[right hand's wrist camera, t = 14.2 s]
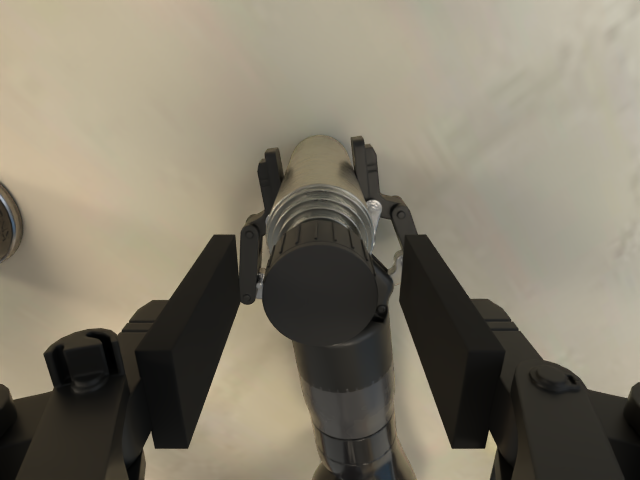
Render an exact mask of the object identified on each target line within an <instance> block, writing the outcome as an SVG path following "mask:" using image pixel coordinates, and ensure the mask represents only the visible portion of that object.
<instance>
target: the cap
mask: <svg viewBox="0 0 640 480" xmlns="http://www.w3.org/2000/svg"><path fill="white" fill-rule="evenodd" d="M375 277H376V272H375V269H374V265H373V262H372V259H371V255H370V253H368V251H367V249H366V247H365V245H364V241H363V240H362V239H360V238H359V237H358V236H357V235H356V234H355V233H354V232H353V231H351V229H350V228H347V227H345V226H343V225H341V224H338V223H335V222H334V221H333V222H331V221H323V220H320V221H317V220H315V221H309V222H305V223H302V224H298V225H297V226H295V227H293V228H292V229H290V230H289V231H287V232H286V233H285V232H284V233H283V236H282V237H281V238H280V239H279V241H278V242H277V243H276V245H274V246H273V249H272V252H271V256H270V259H269V260H268V264H267V267H266V271H265V274H264V278H263V281H262V284H263V289H262V302H263V306H264V310H265V312H266V315H267V317H268V318H269V320H270V322H271V323H272V324H273V326H274V327H275V328H276V329H277V330H278V331H279V332H280V333H282V334H283V335H284V336H286V337H288V338H289V339H291V340H293V341H296V342H298V343H301V344H305V345H310V346H330V345H335V344H339V343H342V342H345V341H347V340H349V339H351V338H353V337H354V336H356V335H357V334H359V333H360V332H361V331H362V330H363V329H364V328H365V327H366V326H367V325H368V323H369V322H370V320H371V319H372V317H373V315H374V313H375V310H376V307H377V303H378V287H377V283H376V280H375Z"/></svg>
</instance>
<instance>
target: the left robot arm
mask: <svg viewBox="0 0 640 480" xmlns="http://www.w3.org/2000/svg"><path fill="white" fill-rule="evenodd" d="M351 147H352V156H353V165H354V172H355V175H356V178H357V180H358V183H359V186H360V188H361V191H362V194H363V196H364V199H365V202H366V204H367V207H368V210H369V212H370V215H371V218H372V221H373V225H374V243H375V233H376V229H377V226H378V222H379V218H380V217H381V218H386V219H390V220H391V221H392V224H393V227H394V229H395V232H396V235H397V238H398V240H399V243H400V246H401V249H402V250H399V251H397V252H396V253H395V255H394V265H393V267H392V268H391V269H389V270H388V269H387V268H386V267H385V266H384V265H383V264H382V263H381V262H380V261H379V260H378V259H377V258H376V257H375V256H374V255H373V254H372V250H373V247H374V243H373V247H372V250H371V253H370V255H371V259H372V262H373V265H374V269H375V272H376V277H375V280H376V283H377V287H378V303H377V307H376V310H375V313H374V315H373V317H372V319H371V320H370V322H369V323H368V325H367V326H366V327H365V328H364V329H363V330H362V331H361V332H360V333H359V334H357V335H356V336H354V337H353V338H351V339H349V340H347V341H345V342H342V343H339V344H335V345H330V346H310V345H305V344H301V343H298V342H296V341H293V340H292V342H293V347H294V352H295V357H296V362H297V367H298V372H299V377H300V382H301V387H302V392H303V395H304V399H305V401H306V404H307V407H308V409H309V412H310V416H311V421H312V426H313V431H314V436H315V441H316V446H317V450H318V454H319V457H320V459H321V461H322V462H321V464H320V465H319V466H318V467H317V469H316V471H315V473H314V475H313V478H312V480H417V478H416V475H415V473H414V471H413V468H412V466H411V464H410V462H409V460H408V458H407V456H406V455H405V453H404V451H403V448H402V446H401V444H400V441H399V439H398V437H397V432H396V421H395V411H394V392H395V376H394V365H393V354H392V342H391V331H390V320H389V309H388V301H389V298H390V295H391V294H392V292H393V289H394V286H395V285H398V284H401V274H402V262H403V250H404V239H405V235H418V234H417V231H416V228H415V225H414V222H413V219H412V216H411V213H410V210H409V209H408V207H407V206H406V204H405V203H404V201H403V200H402V199H401V198H400V197H399V196H387V195H383V194H381V193H380V190H379V179H378V167H377V156H376V153H375V151H374V149H373V147H372V146H371V145H370V144H364V139H363V137H362V136H356V137H351ZM257 172H258V177H259V182H260V186H261V192H262V197H263V202H264V207H265V210H263V211H262V212H260V213H258V214H253V215H250V216H249V217H248V219H247V221H246V224H245V226H244V227H243V228H242V230H241V236H240V265H239V285H240V297H241V303H243V304H246V305H249V304H252V303H253V302H254V301H255V299H256V298H257V299H262V289H263V284H262V281H263V278H264V274H265V271H266V269H265V268H261V261H262V243H263V236H264V235H266V226H267V221H268V219H269V216H270V213H271V210H272V208H273V205H274V202H275V199H276V197H277V194H278V191H279V189H280V186H281V183H282V181H283V178H284V174H283V169H282V163H281V158H280V152H279V148H278V147H277V148H271V149H267V150H266V152H265V159H262V160H261V161H260V162H259V165H258V171H257ZM22 232H23V227H22V220H21V216H20V213H19V210H18V208H17V206H16V204H15V202H14V200H13V199H12V197H11V196H10V194H9V193H8V192H7V191H6V189H5V188H4V187H3V186H2V185H1V184H0V263H1V262H3V261H5V260H6V259H8V258H9V257H11V256H12V255H13V254H14V253H15V251H16V250H17V249H18V247H19V245H20V242H21V239H22Z"/></svg>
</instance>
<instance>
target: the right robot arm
mask: <svg viewBox="0 0 640 480" xmlns="http://www.w3.org/2000/svg"><path fill="white" fill-rule="evenodd" d="M240 302H241V297H240V285H239V274H238V262H237V250H236V239H235V235H213V237H212V238H211V240H210V241H209V243H208V244H207V245H206V247H205V248H204V250H203V251H202V253H201V254H200V256H199V257H198V259H197V260H196V262H195V263H194V264H193V266H192V267H191V269H190V270H189V272H188V273H187V275H186V276H185V278H184V279H183V281H182V282H181V283H180V285H179V286H178V288H177V289H176V291H175V292H174V294H173V295H172V297H171V298H170V299H169V300H152V301H151V302H149V303H147V304H146V305H144V306H143V307H141V308H140V309H138V310H137V312H136V313H135V314H134V315H133V317H132V318H131V319H130V320H129V323H127V324H126V325H125V327H124V328H123V329H122V332H120V333H119V334H118V336H117V334H115V333H114V332H113V331H112V330H108V329H103V328H97V329H87V330H83V331H79V332H75V333H72V334H70V335H68V336H65V337H63V338H61V339H59V340H58V341H56V342H55V343H53V344H52V345H50V347H49V348H48V349H47V350H46V351H45V353H44V358H45V361H46V364H47V367H48V370H49V373H50V376H51V380H52V383H53V386H54V389H53V391H51V392H47V393H43V394H39V395H34V396H29V397H25V398H20V399H15V400H13V399H12V396H11V394H10V391H9V389H8V388H7V387H6V386H4V385H3V384H0V480H144V477H145V467H146V461H145V455H144V451H143V447H144V445H145V442H146V440H147V438H148V436H149V434H150V432H152V437H153V441H154V446H155V449H188V447H189V444H190V442H191V439H192V436H193V433H194V430H195V428H196V425H197V422H198V419H199V416H200V414H201V411H202V408H203V405H204V403H205V400H206V397H207V394H208V391H209V389H210V386H211V383H212V380H213V377H214V375H215V372H216V369H217V366H218V363H219V361H220V358H221V355H222V352H223V349H224V347H225V344H226V341H227V338H228V335H229V333H230V330H231V327H232V324H233V321H234V319H235V316H236V313H237V310H238V308H239V305H240ZM399 302H400V305H401V308H402V310H403V313H404V316H405V319H406V321H407V324H408V327H409V330H410V333H411V335H412V338H413V341H414V344H415V347H416V349H417V352H418V355H419V358H420V361H421V363H422V366H423V369H424V372H425V375H426V377H427V380H428V383H429V386H430V389H431V391H432V394H433V397H434V400H435V403H436V405H437V408H438V411H439V414H440V416H441V419H442V422H443V425H444V428H445V430H446V433H447V436H448V439H449V442H450V444H451V447H452V449H485V446H486V441H487V437H488V432H489V430H490V432H491V434H492V436H493V438H494V440H495V443H496V445H497V451H496V455H495V460H494V464H493V468H492V473H491V477H490V480H640V382H638V383H637V384H636V385H634V386H633V387H632V388H631V391H630V394H629V396H628V398H623V397H619V396H614V395H609V394H605V393H600V392H595V391H592V390H588V389H587V388H586V386H585V385H584V383H583V382H582V380H581V379H580V378H579V377H578V376H576V375H575V374H574V373H573V372H571V371H570V370H568V369H566V368H564V367H562V366H560V365H558V364H556V363H552V362H549V361H545V360H543V359H542V358H541V356H540V355H539V354H538V353H537V351H536V350H535V349H534V348H533V346H532V345H531V344H530V343H529V341H528V340H527V339H526V338H525V336H524V335H523V334H522V333H521V331H519V330H518V327H517V326H516V325H515V324H514V322H511V319H510V317H509V316H508V315H507V314H506V312H505V311H504V310H503V309H502V308H501V307H499V306H498V305H496V304H495V303H493V302H492V301H490V300H488V299H470V298H469V297H468V295H467V294H466V292H465V291H464V289H463V288H462V286H461V285H460V283H459V282H458V281H457V279H456V278H455V276H454V275H453V273H452V272H451V270H450V269H449V267H448V266H447V264H446V263H445V262H444V260H443V259H442V257H441V256H440V254H439V253H438V251H437V250H436V248H435V247H434V245H433V244H432V243H431V241H430V240H429V238H428V237H427V235H405V239H404V250H403V262H402V274H401V285H400V297H399Z"/></svg>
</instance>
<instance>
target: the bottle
mask: <svg viewBox="0 0 640 480" xmlns="http://www.w3.org/2000/svg"><path fill="white" fill-rule="evenodd" d="M315 220H317V221H320V220H323V221H331V222H333V221H334V222H335V223H338V224H341V225H343V226H345V227H347V228H350V229H351V231H353V232H354V233H355V234H356V235H357V236H358V237H359V238H360V239H362V240H363V241H364V245H365V247H366V249H367V251H368V253H371V250H372V247H373V243H374V225H373V221H372V218H371V215H370V212H369V210H368V207H367V204H366V202H365V199H364V196H363V194H362V191H361V188H360V186H359V183H358V180H357V178H356V175H355V172H354V170H353V167H352V164H351V162H350V159H349V156H348V154H347V152H346V150H345V148H344V147H343V145H342V144H341V143H340V142H338V141H337V140H336V139H334V138H332V137H329V136H325V135H315V136H311V137H308V138H306V139H305V140H303V141H302V142H300V143H299V144H298V146H297V147H296V148H295V150H294V152H293V154H292V157H291V159H290V162H289V165H288V167H287V170H286V173H285V175H284V178H283V181H282V183H281V186H280V189H279V191H278V194H277V197H276V199H275V202H274V205H273V208H272V210H271V213H270V216H269V219H268V221H267V226H266V242H267V247H268V250H269V252H270V255H271V252H272V249H273V246H274V245H276V243H277V242H278V241H279V239H280V238H281V237H282V236H283V233H284V232H285V233H286V232H287V231H289V230H290V229H292V228H293V227H295V226H297V225H298V224H302V223H305V222H309V221H315Z"/></svg>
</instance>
